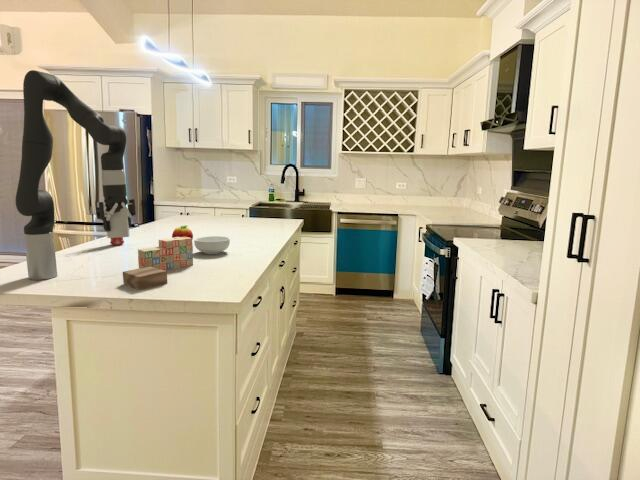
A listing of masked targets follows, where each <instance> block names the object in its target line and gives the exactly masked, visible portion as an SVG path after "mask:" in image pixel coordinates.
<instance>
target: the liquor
mask: <svg viewBox="0 0 640 480" xmlns="http://www.w3.org/2000/svg"><path fill="white" fill-rule="evenodd" d="M109 243H110V244H111V245H112V246H115V245H117V246H122V245H123V244H124V243H125V241H124V237H118V238H110V242H109Z"/></svg>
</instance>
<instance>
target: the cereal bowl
mask: <svg viewBox="0 0 640 480" xmlns="http://www.w3.org/2000/svg"><path fill="white" fill-rule="evenodd" d="M230 240H231V239H230V238H229V237H227V236H216V235H215V236H202V237H198V238H194V239H193V243H194V246H195V248H196V249H197V250H198V251H200V252H202V253H203V254H205V255H217V254H221V252H224V251H225V250H227V249H228V248H229V246H230V242H231V241H230Z"/></svg>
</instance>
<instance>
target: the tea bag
mask: <svg viewBox="0 0 640 480" xmlns="http://www.w3.org/2000/svg"><path fill="white" fill-rule="evenodd" d="M127 208H128V207H127ZM127 208H122V209H121V210H120V212H116V213H113V215H111V217H110V219H109V221H110V227H111V231H109V232H108V231H106V237H107V239H111V238H118V237H123V238H129V237H130V228H129V223H128V214H127Z"/></svg>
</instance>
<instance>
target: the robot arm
mask: <svg viewBox="0 0 640 480" xmlns="http://www.w3.org/2000/svg"><path fill="white" fill-rule="evenodd" d="M22 87H23V90H22V91H23V93H22V94H23V132H22V133H23V134H22V139H21V140H22V141H21V142H22V144H21V160H20V161H21V162H20V170H19V178H18V184H17V189H16V194H15V208H16V210H17V212H18V213H19V214H20V215H22V216H24V217H31V219H30V221H29V222H28V223H26V224H24V226H23V234H24V235H23V236H24V242H25V251H26V253H25V257H26V259H25V260H26V266H27V267H26V268H27V276H28V279H29V280H33V281H34V280H35V281H37V280H38V281H39V280H48V279H52V278H55V277H58V270H57V269H58V267H57V258H56V247H55V239H54V226H55V223H56V222H55V220H56V219H55V202H54V199H53V196H52V195H51V194H50V192H49V191H48V190H44V189H40V188H39V187H40V186H39V185H40V181H41V178H42V176H43V175H44V172H45V171H46V169H47V167H48V166H49V163H50V162H51V160H52V157H53V147H54V138H53V134H52V132H51V130H50V128H49V125H48V124H47V121H46V118H45V116H44V101H48V102H53V103H54V102H55V103H56V104H59V105H60V106H62V107H63V108H65V109H66V111H67V113H68V115H69V117H70V118H71V119H72V120H73V121H74V122H75V123H77V124H78V125H79V126H80V127H82V128H83V129H84V130H86V132H87V133H88V134H89V136H90V137H91V139H92V140H93V141H95V142H96V143H98V144H100V145H101V146H102V145H103V146H108V150H107V151H106V152H104V153H102V154H101V156H100V163H101V164H100V165H101V186H102V196H103V198H104V200H103V201H96V202H95V211H96V212H95V213H96V219H97V220H100V221H102V224H103V230H104V232H107V231H108V232H109V231H111V227H110V221H109V219H110V217H111V215H113V213H116V212H120V210H121V209H122V208H127V214H128V223H129V229H130V228H131V227H132V217H134V216H136V214H137V213H136V212H137V211H136V202H135V201H136V200H135V198H128V199H127V196H128V193H127V181H126V180H127V179H126V173H125V166H124V163H125V162H124V156H125V151H126V146H127V145H126V144H127V134H126V131H125V129H124V127H122V126H121V125H118V124H111V123H105V121H104V118H103V116H102V115H101V114H100V113H98V112H97V111H96V110H94V109H93V108H92V107H91V106H89V105H88V104H86V103H85V102H84V101H82V100H81V99H80V98H79V97H78V96H76V95H75V93H74V92H73V91H72V90H71V89H70V88H69V87H68V86H67V85H66V84H65V83H64V82H63V81H62V80H61V79H60V78H59V77H58V76H56V75H53V74H50V73H47V72H43V71H39V70H34V69H32V70H29V71H28V72H27V73H26V74H25V76H24V79H23V83H22Z"/></svg>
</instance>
